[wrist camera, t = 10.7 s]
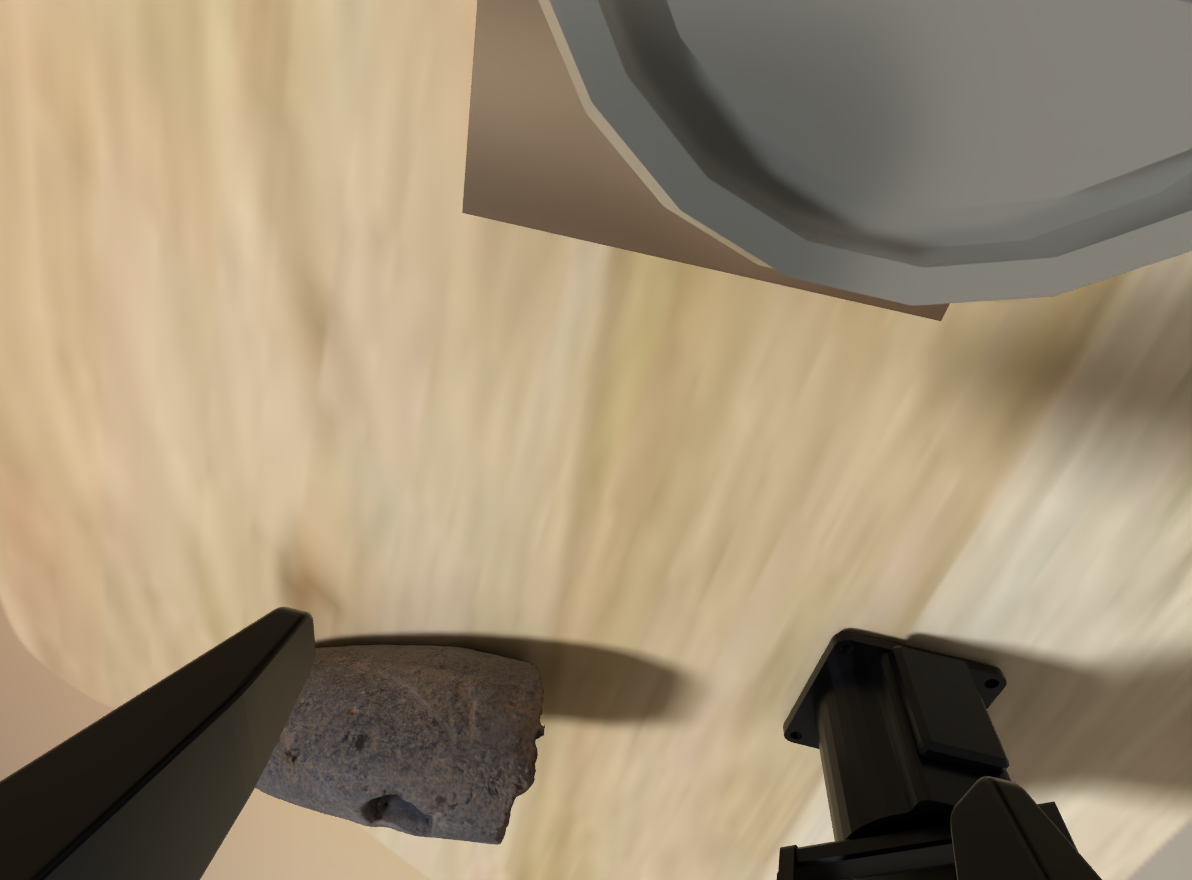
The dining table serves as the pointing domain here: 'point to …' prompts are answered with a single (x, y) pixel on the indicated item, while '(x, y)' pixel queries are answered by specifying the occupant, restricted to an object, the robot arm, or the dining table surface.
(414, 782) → the perforated stone tool
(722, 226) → the beer can
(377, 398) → the dining table surface
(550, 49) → the walnut block
